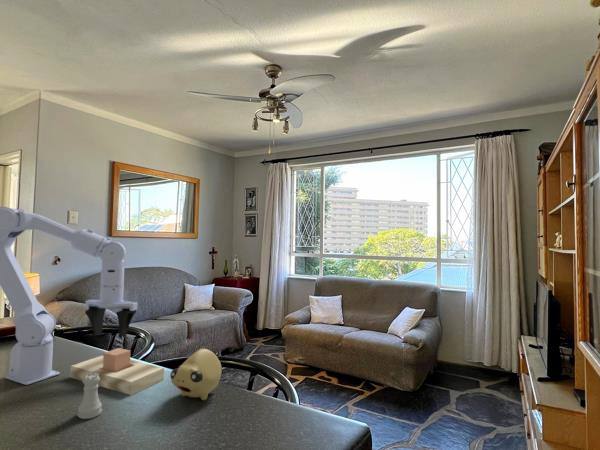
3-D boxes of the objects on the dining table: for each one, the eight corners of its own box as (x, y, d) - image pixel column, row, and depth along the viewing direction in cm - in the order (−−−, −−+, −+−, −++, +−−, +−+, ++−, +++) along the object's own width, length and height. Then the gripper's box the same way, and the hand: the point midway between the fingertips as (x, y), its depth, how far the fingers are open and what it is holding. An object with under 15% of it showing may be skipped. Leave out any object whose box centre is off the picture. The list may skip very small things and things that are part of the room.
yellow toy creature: (160, 405, 78) (162, 356, 78) (192, 384, 89) (194, 341, 90) (199, 413, 75) (201, 362, 75) (227, 390, 86) (229, 345, 87)
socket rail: (70, 377, 91) (70, 365, 92) (105, 365, 101) (105, 354, 101) (130, 395, 82) (131, 382, 82) (163, 379, 91) (164, 367, 92)
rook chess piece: (90, 421, 71) (92, 380, 71) (71, 418, 72) (73, 378, 72) (107, 410, 75) (108, 372, 75) (89, 408, 76) (90, 370, 76)
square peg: (102, 380, 90) (103, 352, 90) (117, 374, 94) (118, 348, 94) (114, 383, 88) (115, 355, 89) (129, 377, 92) (130, 350, 93)
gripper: (77, 286, 95) (75, 337, 95) (126, 288, 93) (124, 341, 92) (96, 283, 102) (94, 330, 102) (142, 285, 100) (141, 334, 99)
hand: (110, 335), depth 97 cm, fingers open, 7 cm apart
